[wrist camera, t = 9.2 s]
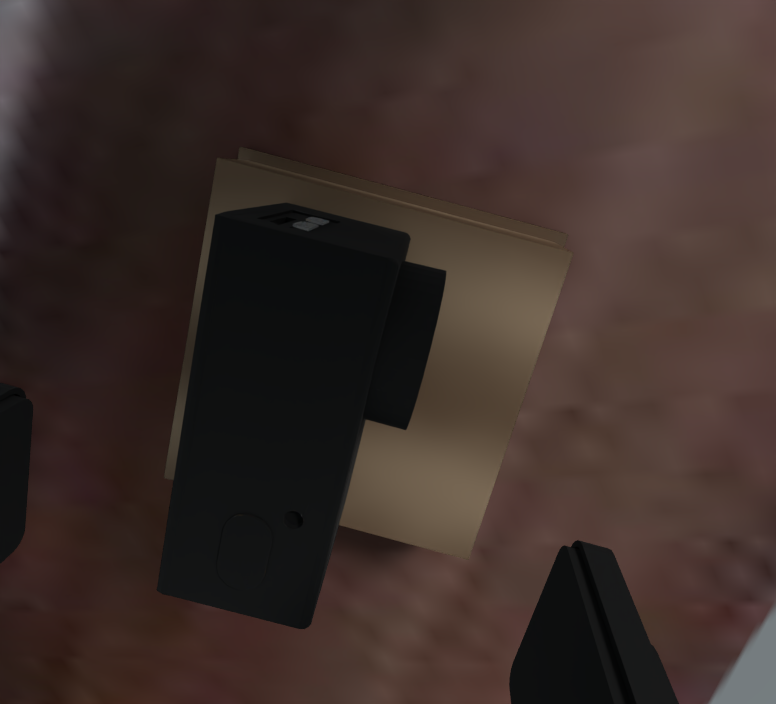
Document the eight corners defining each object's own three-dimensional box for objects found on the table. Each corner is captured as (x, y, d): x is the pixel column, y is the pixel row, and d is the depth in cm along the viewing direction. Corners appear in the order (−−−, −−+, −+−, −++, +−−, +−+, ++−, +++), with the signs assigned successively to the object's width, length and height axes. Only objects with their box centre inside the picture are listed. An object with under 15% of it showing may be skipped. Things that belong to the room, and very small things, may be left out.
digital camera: (375, 512, 23) (349, 649, 16) (235, 476, 23) (153, 599, 17) (447, 241, 20) (452, 273, 14) (286, 201, 20) (212, 213, 14)
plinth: (244, 147, 24) (207, 141, 20) (565, 233, 24) (589, 244, 20) (192, 441, 27) (152, 484, 24) (470, 515, 27) (475, 571, 24)
